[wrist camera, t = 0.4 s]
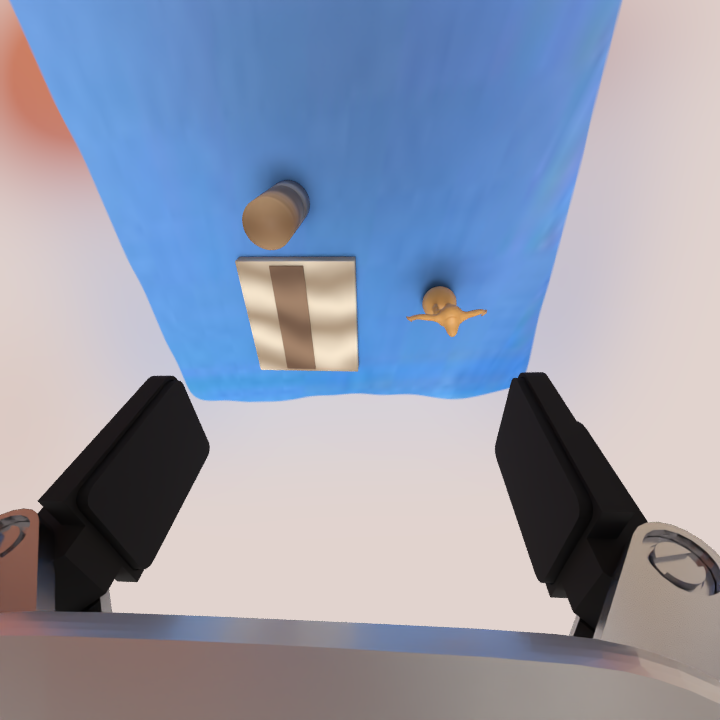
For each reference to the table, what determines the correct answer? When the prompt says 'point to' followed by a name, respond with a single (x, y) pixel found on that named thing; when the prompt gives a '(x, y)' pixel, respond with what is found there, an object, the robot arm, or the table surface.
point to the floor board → (302, 311)
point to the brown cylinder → (276, 215)
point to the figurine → (444, 310)
